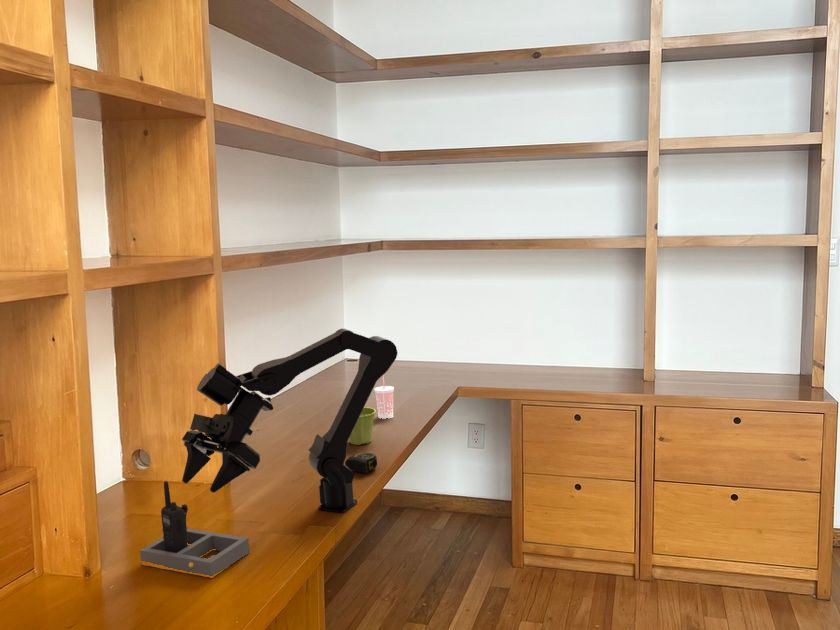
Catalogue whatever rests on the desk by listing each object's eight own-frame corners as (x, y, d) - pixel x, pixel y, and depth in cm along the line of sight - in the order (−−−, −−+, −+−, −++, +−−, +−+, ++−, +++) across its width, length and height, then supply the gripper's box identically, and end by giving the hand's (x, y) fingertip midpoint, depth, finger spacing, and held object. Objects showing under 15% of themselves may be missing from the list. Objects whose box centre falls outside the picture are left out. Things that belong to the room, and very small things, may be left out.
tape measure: (344, 472, 193) (343, 457, 192) (363, 464, 198) (362, 449, 197) (364, 477, 188) (363, 462, 188) (383, 468, 193) (382, 454, 193)
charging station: (249, 553, 149) (248, 538, 149) (210, 580, 139) (208, 564, 138) (181, 541, 156) (180, 527, 156) (139, 566, 146) (137, 551, 145)
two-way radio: (162, 556, 150) (154, 481, 148) (183, 548, 153) (176, 474, 151) (176, 564, 146) (168, 487, 144) (198, 556, 149) (190, 480, 147)
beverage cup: (396, 413, 243) (394, 369, 242) (394, 419, 237) (391, 374, 236) (377, 414, 244) (374, 370, 242) (374, 419, 238) (371, 374, 236)
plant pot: (382, 437, 219) (380, 407, 218) (371, 447, 210) (369, 416, 209) (351, 436, 222) (349, 406, 221) (338, 446, 213) (336, 415, 212)
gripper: (186, 391, 159) (142, 458, 153) (242, 402, 147) (198, 476, 141) (221, 419, 166) (180, 485, 160) (278, 432, 154) (237, 504, 148)
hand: (197, 486), depth 152 cm, fingers open, 9 cm apart
